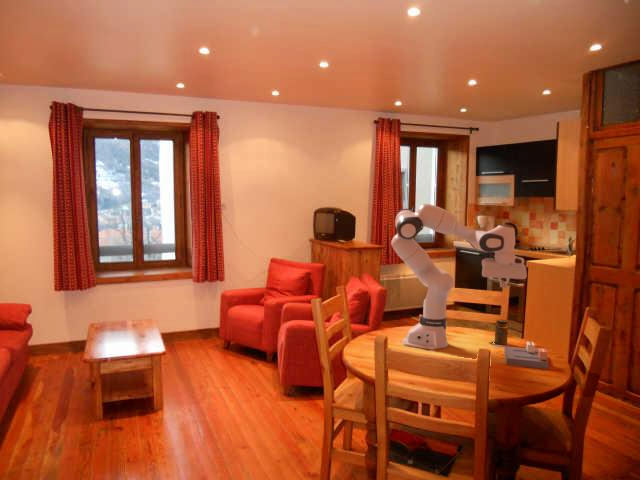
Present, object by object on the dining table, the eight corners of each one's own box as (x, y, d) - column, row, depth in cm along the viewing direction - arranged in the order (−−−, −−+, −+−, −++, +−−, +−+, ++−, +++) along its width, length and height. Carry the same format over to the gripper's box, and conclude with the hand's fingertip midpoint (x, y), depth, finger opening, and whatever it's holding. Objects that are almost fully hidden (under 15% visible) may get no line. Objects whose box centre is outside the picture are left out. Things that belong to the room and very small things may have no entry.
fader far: (527, 352, 226) (527, 344, 226) (526, 348, 231) (526, 341, 231) (534, 352, 226) (534, 345, 225) (533, 349, 230) (533, 342, 230)
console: (506, 364, 220) (507, 358, 219) (504, 352, 237) (504, 346, 236) (548, 369, 215) (548, 362, 214) (542, 356, 232) (543, 349, 231)
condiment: (510, 344, 250) (511, 321, 249) (500, 347, 245) (501, 323, 244) (498, 340, 256) (499, 318, 255) (488, 343, 251) (489, 320, 250)
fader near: (539, 359, 217) (540, 351, 216) (538, 355, 221) (538, 348, 221) (547, 360, 216) (547, 352, 215) (545, 356, 221) (545, 348, 220)
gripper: (482, 258, 237) (480, 286, 238) (527, 260, 231) (526, 289, 232) (481, 257, 243) (480, 284, 244) (526, 258, 237) (525, 287, 238)
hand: (503, 287), depth 238 cm, fingers closed
